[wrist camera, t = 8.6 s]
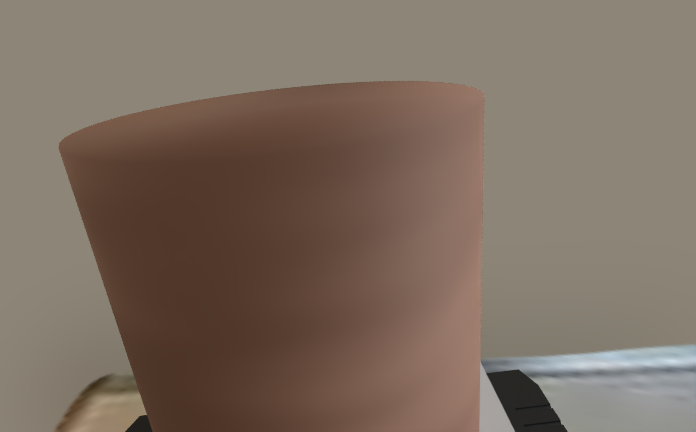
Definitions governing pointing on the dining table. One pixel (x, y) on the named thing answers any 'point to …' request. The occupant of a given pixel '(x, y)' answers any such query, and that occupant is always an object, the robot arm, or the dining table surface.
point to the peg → (294, 255)
